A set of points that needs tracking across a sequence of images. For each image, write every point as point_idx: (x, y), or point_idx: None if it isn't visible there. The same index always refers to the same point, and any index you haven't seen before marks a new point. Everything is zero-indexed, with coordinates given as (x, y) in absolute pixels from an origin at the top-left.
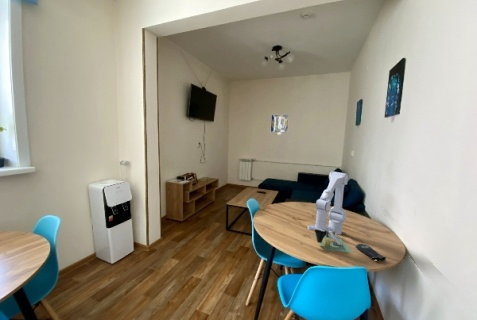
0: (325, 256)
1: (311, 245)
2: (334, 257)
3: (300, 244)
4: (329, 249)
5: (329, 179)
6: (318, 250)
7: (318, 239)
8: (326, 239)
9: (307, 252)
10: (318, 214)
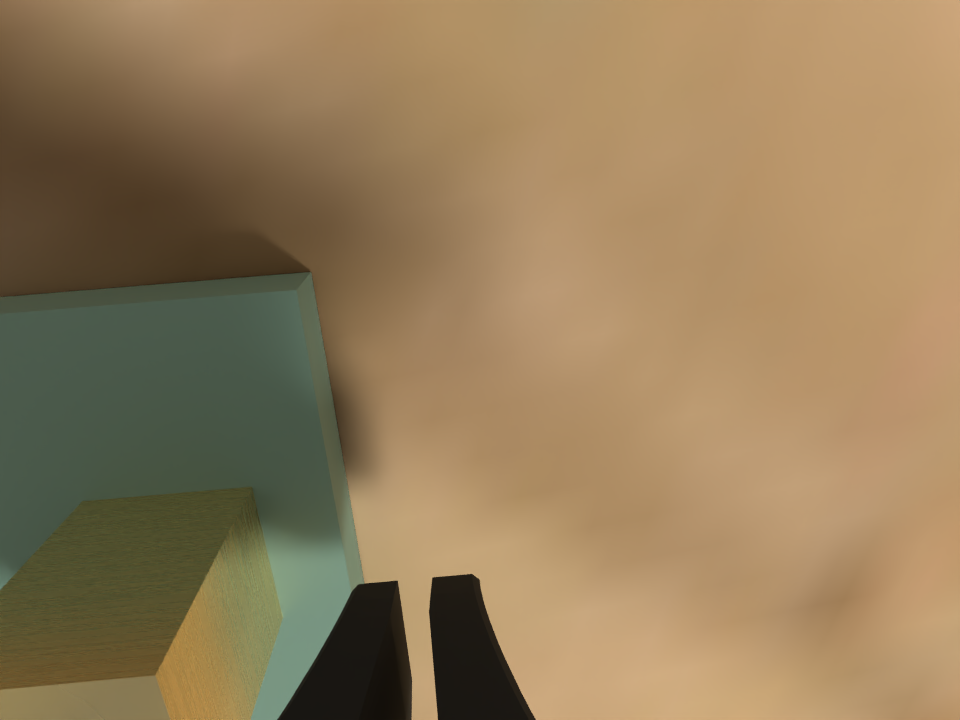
0: (336, 11)
1: (603, 555)
2: (20, 8)
3: (896, 538)
4: (118, 382)
5: None
6: (477, 345)
7: (498, 669)
8: None
9: (879, 150)
10: None
